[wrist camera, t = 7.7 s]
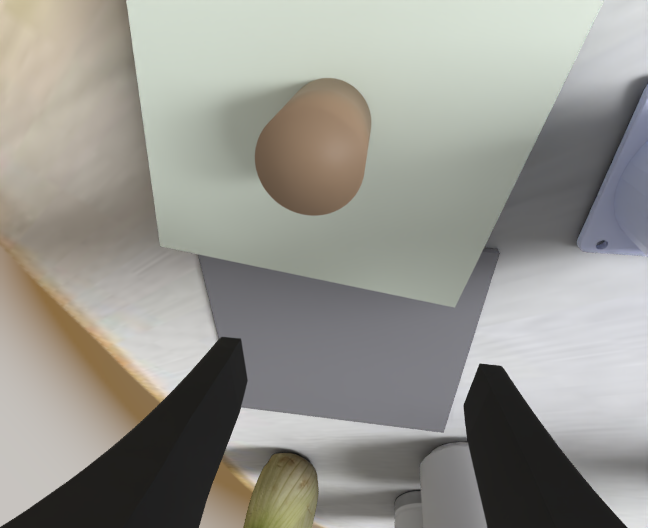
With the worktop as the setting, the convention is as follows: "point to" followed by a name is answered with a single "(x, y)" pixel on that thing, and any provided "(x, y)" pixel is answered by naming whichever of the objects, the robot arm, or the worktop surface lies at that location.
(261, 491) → the fennel bulb
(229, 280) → the mat
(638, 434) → the worktop surface
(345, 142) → the lid
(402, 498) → the travel mug
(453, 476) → the can
